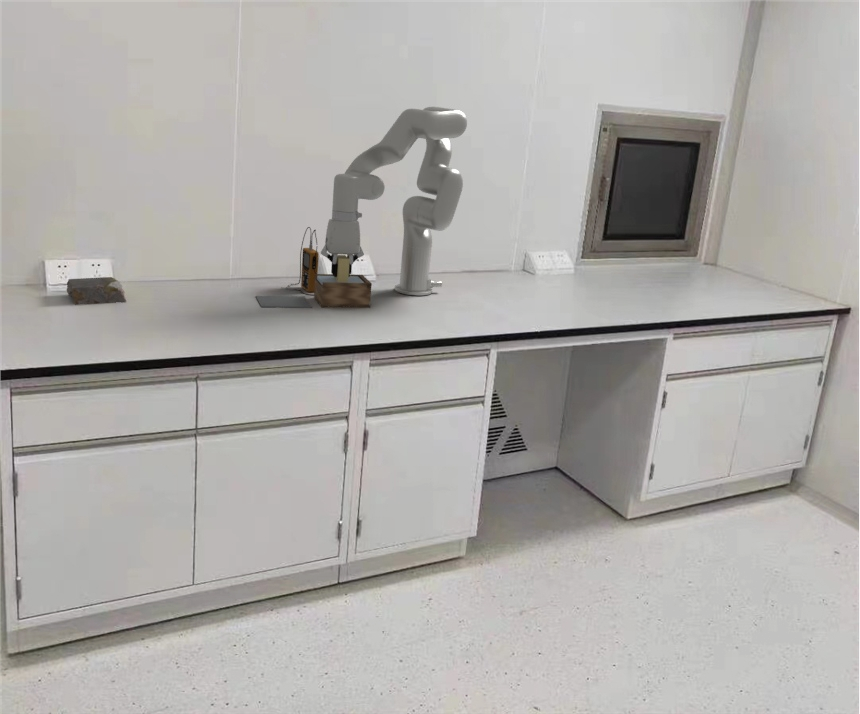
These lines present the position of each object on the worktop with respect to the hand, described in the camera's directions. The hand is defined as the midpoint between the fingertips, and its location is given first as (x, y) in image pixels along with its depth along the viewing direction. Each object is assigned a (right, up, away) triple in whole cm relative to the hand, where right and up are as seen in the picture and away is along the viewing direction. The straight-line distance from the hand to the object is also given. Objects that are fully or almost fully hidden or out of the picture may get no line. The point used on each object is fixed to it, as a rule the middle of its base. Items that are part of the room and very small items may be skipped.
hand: (341, 275), depth 263 cm
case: (0, -8, +3) cm, 9 cm away
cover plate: (0, -2, +1) cm, 2 cm away
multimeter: (-15, -4, +13) cm, 20 cm away
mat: (-17, -8, -3) cm, 19 cm away
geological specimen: (-68, -9, -18) cm, 71 cm away
